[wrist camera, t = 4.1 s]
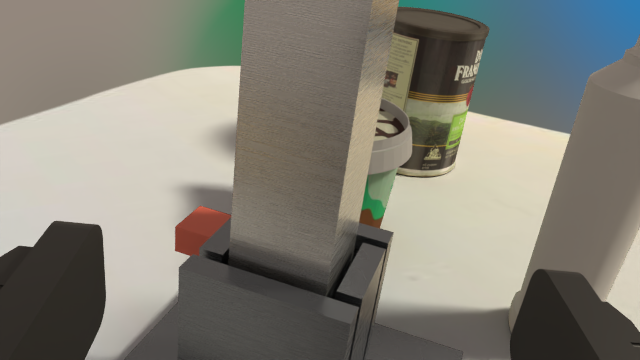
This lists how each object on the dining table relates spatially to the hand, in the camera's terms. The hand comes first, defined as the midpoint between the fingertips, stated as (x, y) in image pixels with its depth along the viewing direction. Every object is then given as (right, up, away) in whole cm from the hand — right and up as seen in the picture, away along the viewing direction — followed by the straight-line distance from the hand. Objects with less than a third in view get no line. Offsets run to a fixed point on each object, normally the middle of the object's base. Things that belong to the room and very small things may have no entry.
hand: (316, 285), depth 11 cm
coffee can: (+9, +4, +50) cm, 51 cm away
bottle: (+15, -8, +26) cm, 31 cm away
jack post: (-2, -8, +17) cm, 19 cm away
